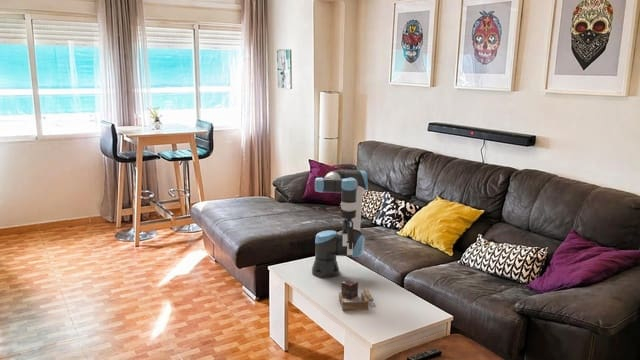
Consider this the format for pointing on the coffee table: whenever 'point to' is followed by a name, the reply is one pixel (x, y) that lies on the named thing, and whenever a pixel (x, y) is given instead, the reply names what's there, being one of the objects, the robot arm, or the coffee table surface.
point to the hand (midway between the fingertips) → (347, 250)
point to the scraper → (369, 298)
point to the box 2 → (354, 303)
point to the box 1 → (349, 289)
